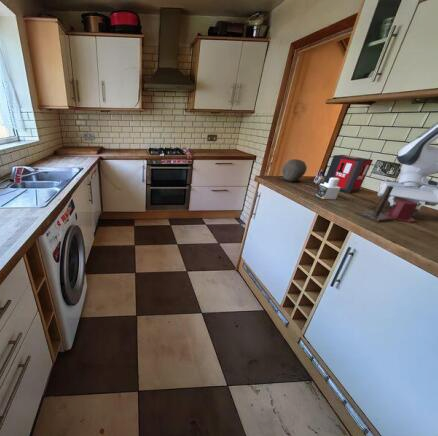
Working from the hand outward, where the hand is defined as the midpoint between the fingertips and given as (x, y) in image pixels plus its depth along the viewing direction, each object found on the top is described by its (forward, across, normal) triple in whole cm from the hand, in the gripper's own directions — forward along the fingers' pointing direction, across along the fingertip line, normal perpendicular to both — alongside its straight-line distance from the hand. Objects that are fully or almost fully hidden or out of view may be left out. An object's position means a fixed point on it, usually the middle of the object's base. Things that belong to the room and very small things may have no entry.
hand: (404, 208), depth 106 cm
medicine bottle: (-4, -29, +11) cm, 32 cm away
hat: (+3, 0, +4) cm, 5 cm away
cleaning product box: (-24, -22, +31) cm, 45 cm away
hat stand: (+9, -9, -2) cm, 13 cm away
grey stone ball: (-22, -51, +30) cm, 63 cm away
